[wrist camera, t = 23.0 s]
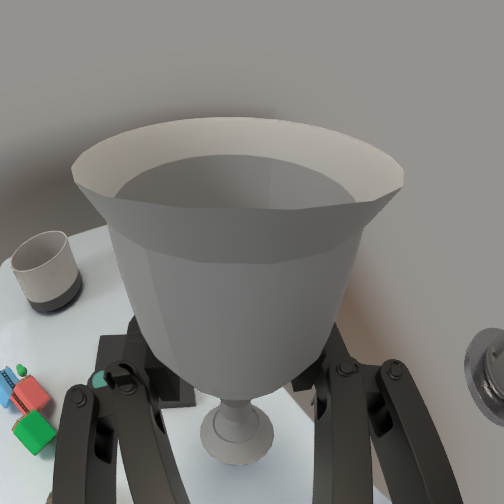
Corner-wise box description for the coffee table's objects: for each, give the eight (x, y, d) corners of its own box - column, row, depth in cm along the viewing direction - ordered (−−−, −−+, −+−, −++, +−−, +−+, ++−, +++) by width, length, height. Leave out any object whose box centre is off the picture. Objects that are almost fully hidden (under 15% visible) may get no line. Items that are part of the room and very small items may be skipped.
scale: (188, 334, 40) (185, 321, 38) (196, 412, 29) (193, 403, 28) (102, 340, 37) (96, 327, 35) (94, 414, 27) (84, 404, 25)
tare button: (118, 377, 30) (114, 370, 29) (117, 397, 27) (112, 391, 26) (98, 377, 29) (93, 370, 28) (96, 397, 27) (91, 390, 26)
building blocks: (52, 438, 25) (2, 377, 25) (72, 418, 25) (15, 349, 25) (27, 464, 17) (-29, 393, 17) (43, 447, 17) (-21, 365, 17)
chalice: (171, 409, 17) (80, 139, 7) (252, 375, 20) (269, 114, 10) (218, 494, 12) (47, 293, 2) (307, 448, 15) (457, 181, 5)
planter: (59, 267, 50) (44, 226, 44) (95, 282, 48) (79, 236, 42) (22, 303, 40) (1, 261, 34) (54, 326, 37) (29, 280, 31)
